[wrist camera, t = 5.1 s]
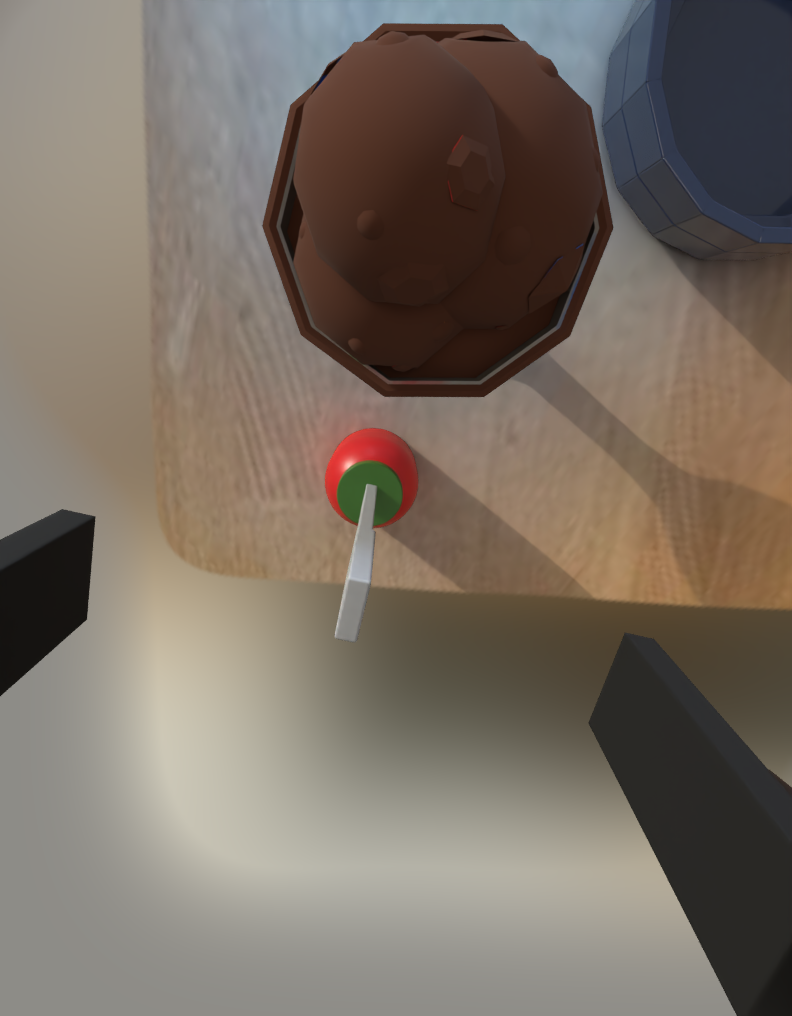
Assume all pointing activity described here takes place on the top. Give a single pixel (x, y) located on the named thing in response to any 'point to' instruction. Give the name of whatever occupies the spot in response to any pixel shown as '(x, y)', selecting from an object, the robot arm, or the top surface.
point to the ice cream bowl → (438, 209)
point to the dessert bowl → (705, 124)
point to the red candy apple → (367, 507)
